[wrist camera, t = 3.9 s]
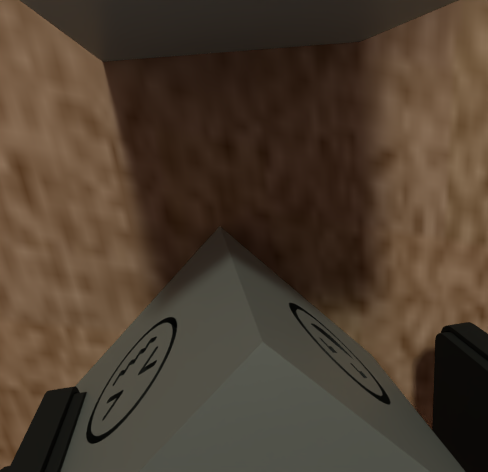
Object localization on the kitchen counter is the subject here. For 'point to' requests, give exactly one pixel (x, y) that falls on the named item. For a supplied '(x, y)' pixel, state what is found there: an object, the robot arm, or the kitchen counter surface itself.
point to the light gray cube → (221, 23)
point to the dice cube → (243, 385)
